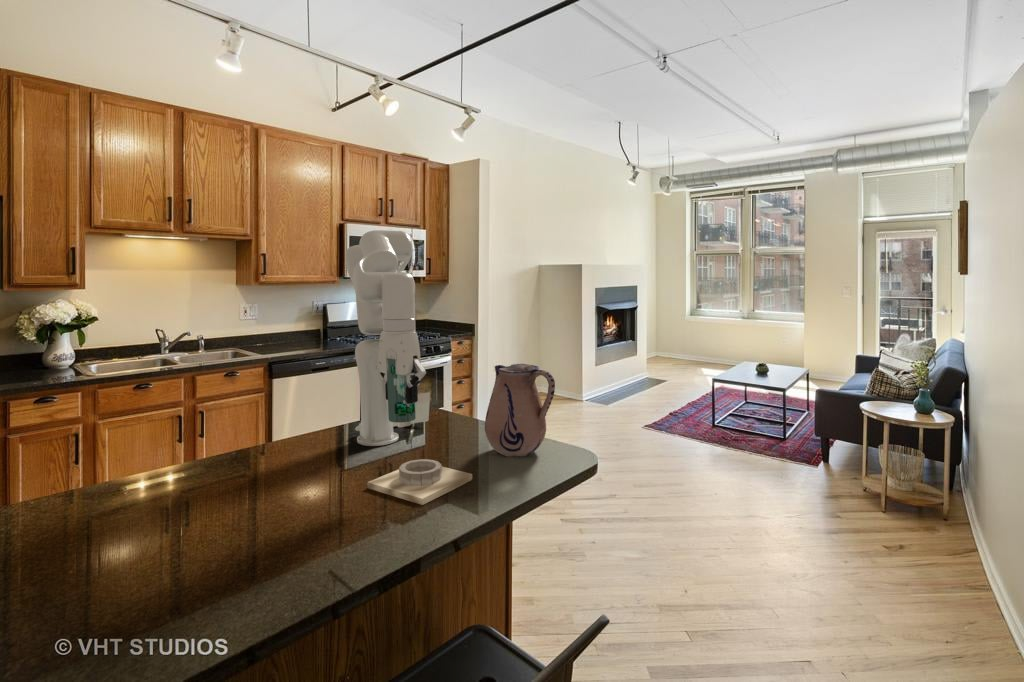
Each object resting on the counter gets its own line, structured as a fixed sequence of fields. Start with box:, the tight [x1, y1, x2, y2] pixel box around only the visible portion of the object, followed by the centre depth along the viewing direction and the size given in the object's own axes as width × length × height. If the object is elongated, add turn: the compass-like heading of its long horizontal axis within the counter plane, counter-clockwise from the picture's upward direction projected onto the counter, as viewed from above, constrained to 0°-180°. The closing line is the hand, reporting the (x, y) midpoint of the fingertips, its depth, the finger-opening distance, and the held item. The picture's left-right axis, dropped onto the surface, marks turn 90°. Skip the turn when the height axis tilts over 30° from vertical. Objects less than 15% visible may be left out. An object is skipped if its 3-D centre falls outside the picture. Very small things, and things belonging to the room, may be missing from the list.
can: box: [386, 358, 416, 423], centre depth 132 cm, size 6×6×15 cm
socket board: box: [367, 458, 473, 506], centre depth 136 cm, size 18×18×4 cm
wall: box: [393, 391, 431, 428], centre depth 194 cm, size 16×9×15 cm
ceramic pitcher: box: [484, 363, 556, 457], centre depth 158 cm, size 18×21×25 cm
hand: (401, 400), depth 133 cm, fingers closed on can, 6 cm apart
